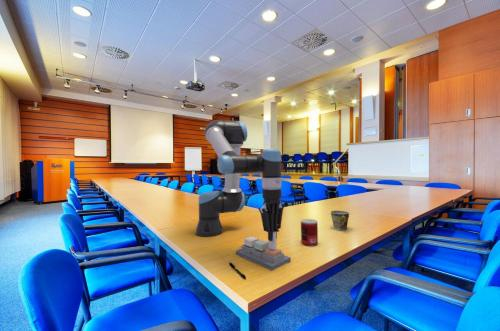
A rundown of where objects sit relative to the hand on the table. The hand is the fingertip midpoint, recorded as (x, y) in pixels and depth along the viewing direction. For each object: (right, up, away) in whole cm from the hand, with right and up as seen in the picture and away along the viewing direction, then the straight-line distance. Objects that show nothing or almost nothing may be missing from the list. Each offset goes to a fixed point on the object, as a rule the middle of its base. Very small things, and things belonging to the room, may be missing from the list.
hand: (272, 248), depth 85 cm
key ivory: (-8, -2, +9) cm, 12 cm away
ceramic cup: (+44, -5, +41) cm, 60 cm away
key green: (-4, -2, +4) cm, 6 cm away
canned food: (+20, -5, +20) cm, 29 cm away
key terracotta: (0, -3, 0) cm, 3 cm away
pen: (-13, -6, -7) cm, 16 cm away
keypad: (-4, -6, +4) cm, 8 cm away
